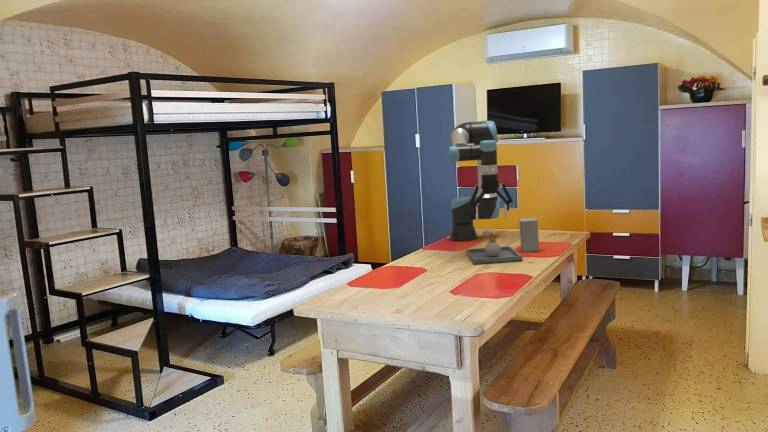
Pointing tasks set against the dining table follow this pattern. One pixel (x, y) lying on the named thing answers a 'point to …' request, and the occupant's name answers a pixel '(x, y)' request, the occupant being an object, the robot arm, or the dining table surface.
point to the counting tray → (504, 256)
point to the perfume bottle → (491, 245)
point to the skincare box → (529, 234)
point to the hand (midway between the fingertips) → (491, 218)
